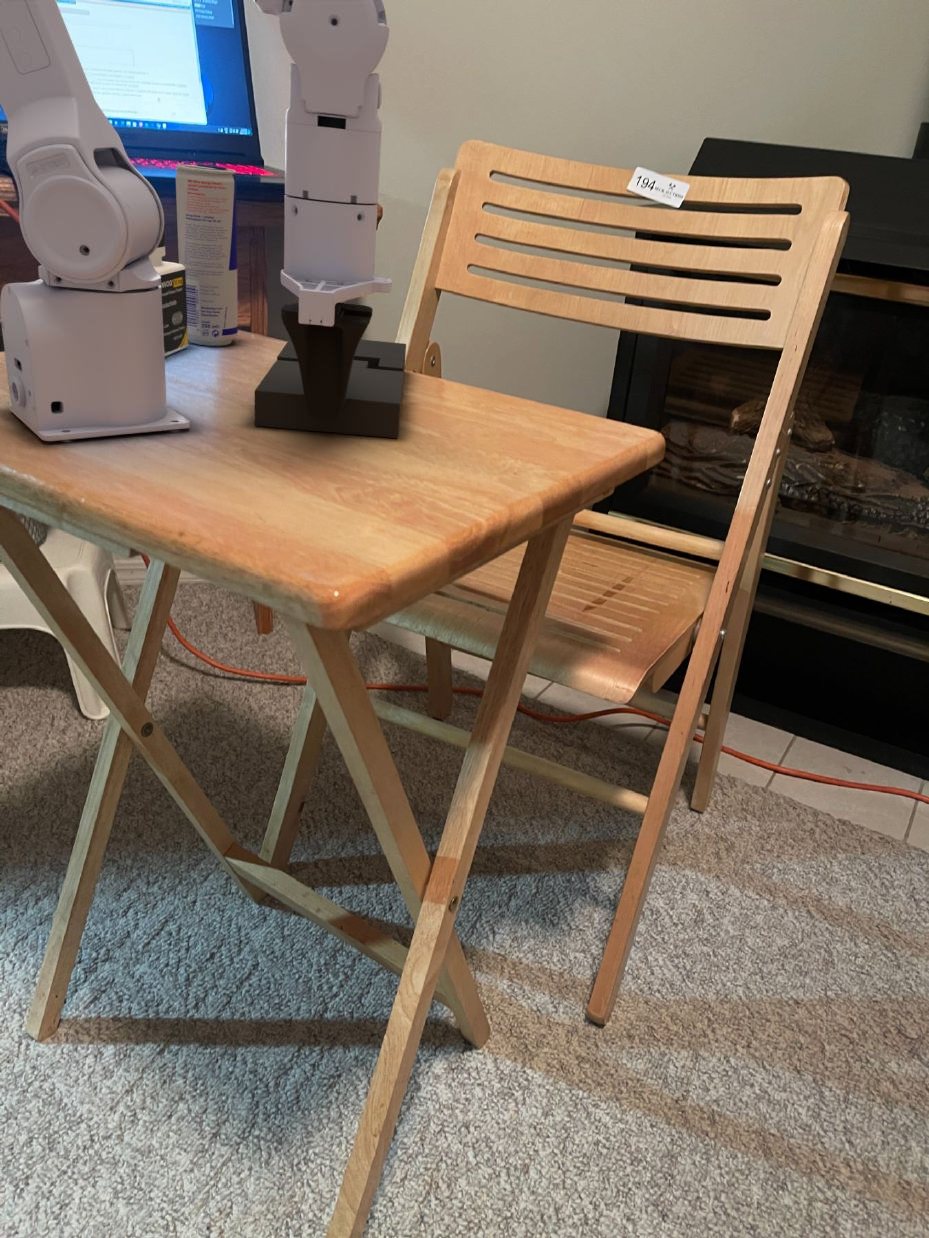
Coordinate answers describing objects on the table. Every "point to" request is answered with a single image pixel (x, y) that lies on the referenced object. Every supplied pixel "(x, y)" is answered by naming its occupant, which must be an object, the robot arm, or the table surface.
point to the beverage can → (208, 251)
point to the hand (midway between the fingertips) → (324, 416)
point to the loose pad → (364, 409)
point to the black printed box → (172, 300)
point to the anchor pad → (365, 354)
